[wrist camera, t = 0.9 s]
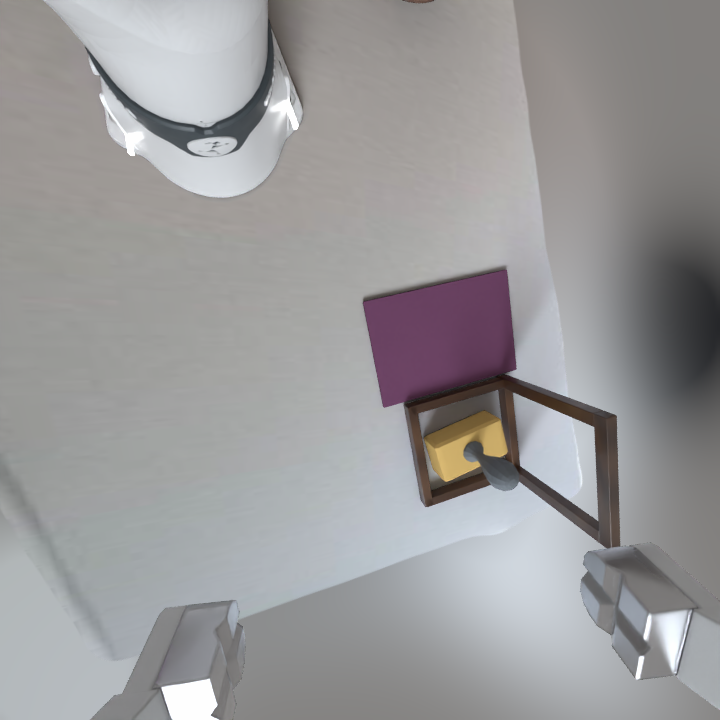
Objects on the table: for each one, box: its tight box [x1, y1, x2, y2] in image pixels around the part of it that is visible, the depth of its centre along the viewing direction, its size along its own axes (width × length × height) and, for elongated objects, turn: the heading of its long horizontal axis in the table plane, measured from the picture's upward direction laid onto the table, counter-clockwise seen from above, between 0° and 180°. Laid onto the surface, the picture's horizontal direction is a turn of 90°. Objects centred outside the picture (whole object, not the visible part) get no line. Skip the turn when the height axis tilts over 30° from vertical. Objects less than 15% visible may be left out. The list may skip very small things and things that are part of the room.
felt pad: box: [363, 270, 516, 408], centre depth 48 cm, size 14×20×1 cm
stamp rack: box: [404, 374, 620, 548], centre depth 44 cm, size 16×15×18 cm
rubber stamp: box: [424, 410, 519, 491], centre depth 46 cm, size 10×6×12 cm, turn 108°
